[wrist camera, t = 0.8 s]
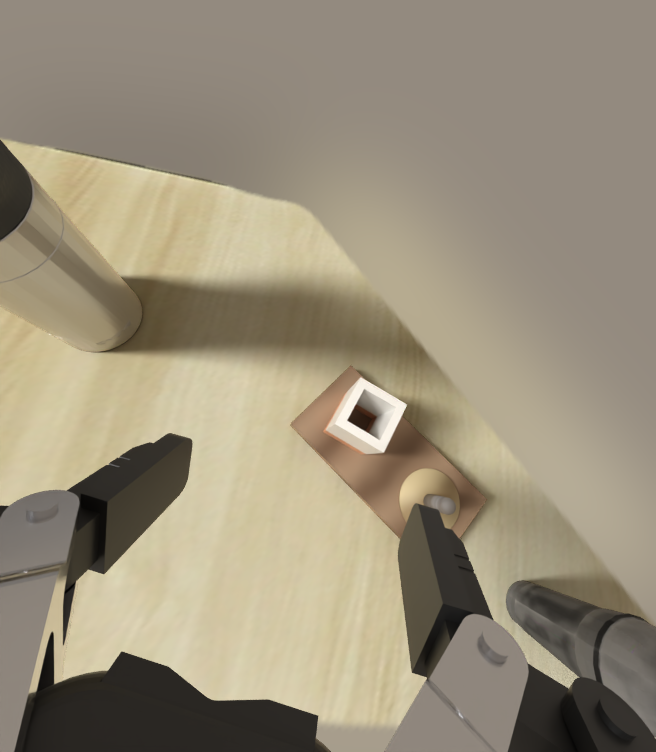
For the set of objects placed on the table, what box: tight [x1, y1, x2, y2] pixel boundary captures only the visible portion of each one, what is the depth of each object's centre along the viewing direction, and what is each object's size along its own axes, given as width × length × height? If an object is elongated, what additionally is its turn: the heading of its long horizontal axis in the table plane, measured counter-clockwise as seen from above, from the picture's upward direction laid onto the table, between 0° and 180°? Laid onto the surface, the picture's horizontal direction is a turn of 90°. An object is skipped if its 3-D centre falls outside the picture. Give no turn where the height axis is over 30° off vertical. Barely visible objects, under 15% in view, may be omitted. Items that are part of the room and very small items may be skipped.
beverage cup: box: [506, 581, 656, 737], centre depth 25 cm, size 7×7×20 cm
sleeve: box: [323, 377, 407, 455], centre depth 32 cm, size 5×5×8 cm
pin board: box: [290, 366, 487, 539], centre depth 34 cm, size 22×10×7 cm, turn 46°
